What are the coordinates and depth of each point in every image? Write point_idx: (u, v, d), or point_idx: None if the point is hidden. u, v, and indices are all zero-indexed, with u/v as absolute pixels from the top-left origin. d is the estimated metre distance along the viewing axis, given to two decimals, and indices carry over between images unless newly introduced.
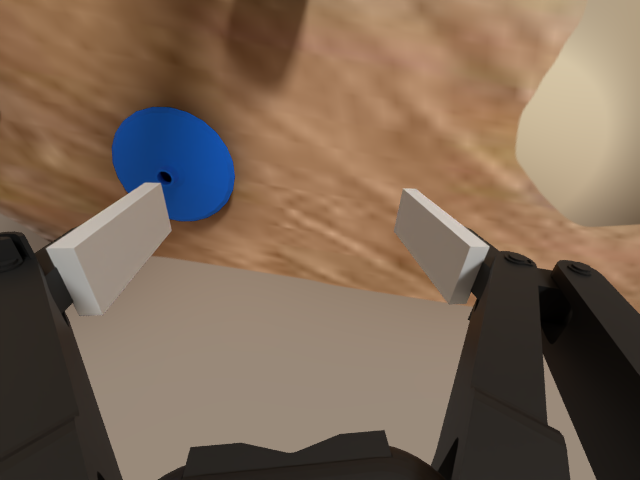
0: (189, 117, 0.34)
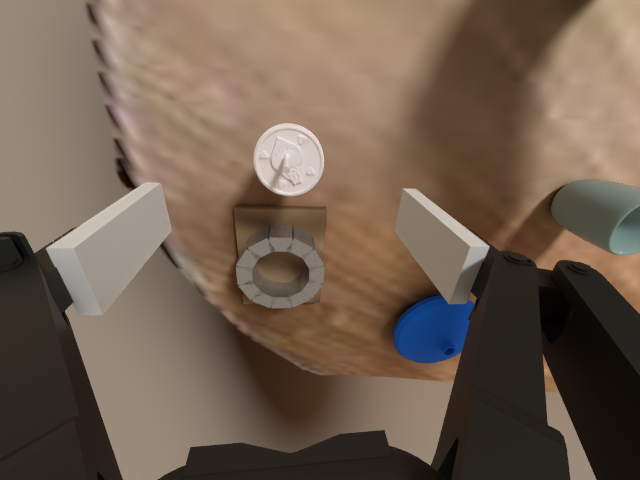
0: (467, 303, 0.44)
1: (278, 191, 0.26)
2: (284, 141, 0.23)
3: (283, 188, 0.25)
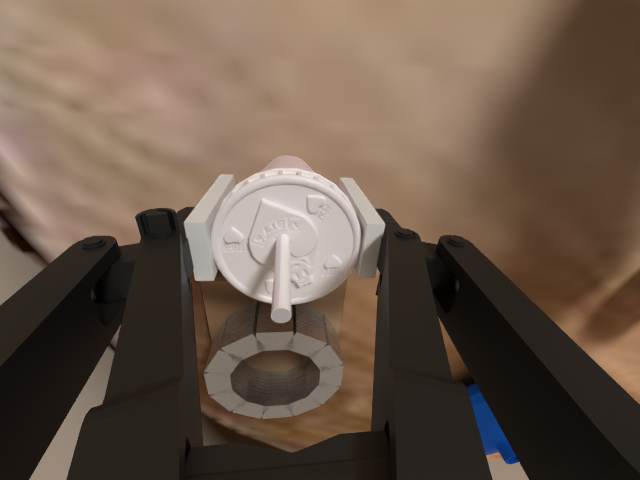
0: None
1: (267, 297, 0.13)
2: (277, 209, 0.10)
3: None
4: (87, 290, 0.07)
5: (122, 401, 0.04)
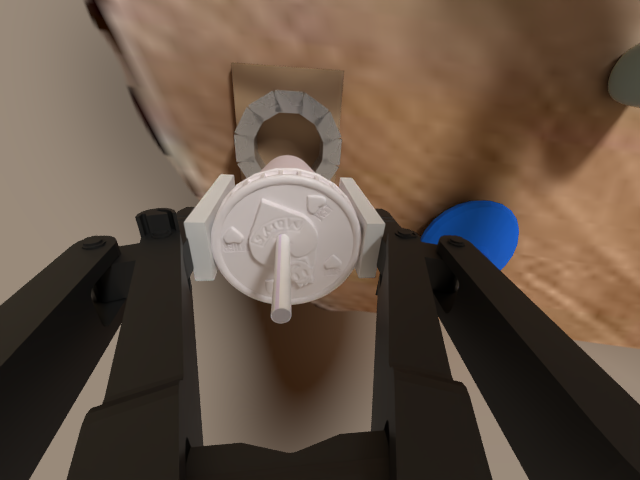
0: (504, 208, 0.38)
1: (266, 297, 0.13)
2: (277, 209, 0.10)
3: None
4: (87, 290, 0.07)
5: (122, 401, 0.04)
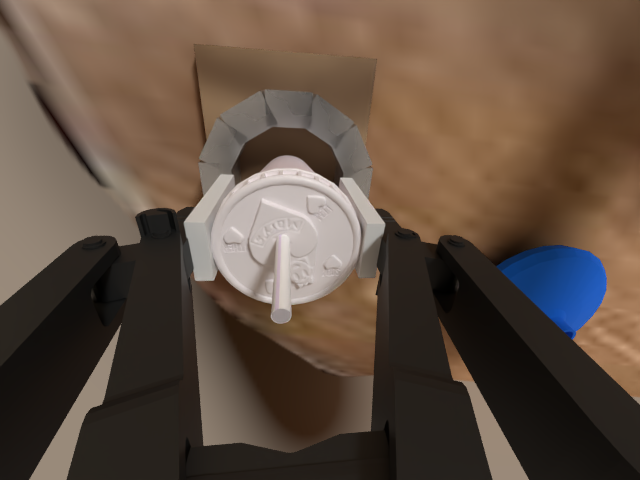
0: (593, 258, 0.27)
1: (266, 297, 0.13)
2: (277, 209, 0.10)
3: None
4: (87, 290, 0.07)
5: (122, 401, 0.04)
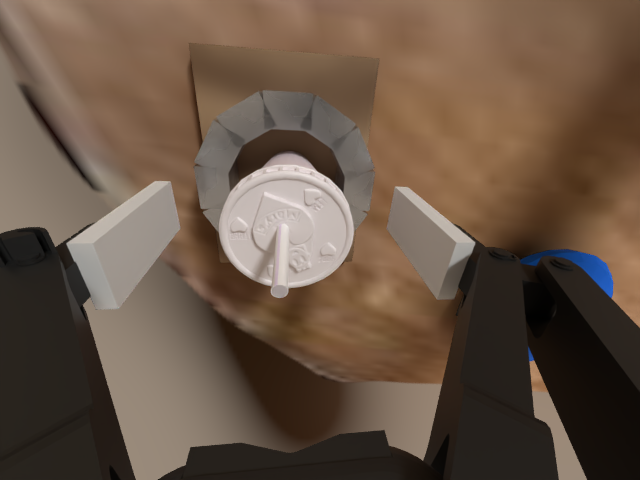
0: (599, 262, 0.26)
1: (269, 281, 0.14)
2: (278, 201, 0.12)
3: None
4: None
5: (13, 454, 0.03)
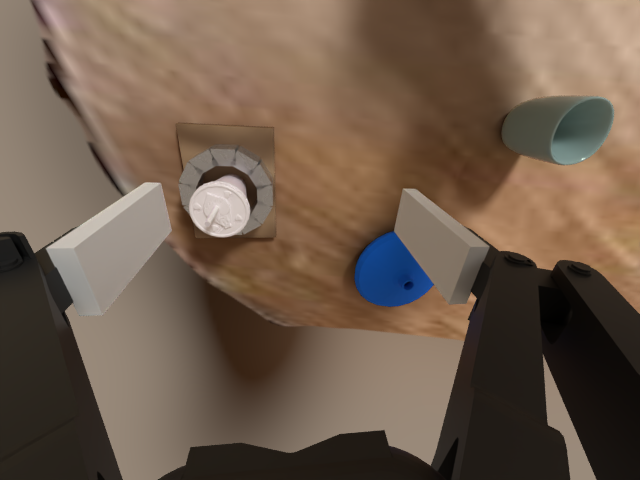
0: None
1: (212, 233, 0.31)
2: (213, 196, 0.29)
3: (217, 231, 0.31)
4: None
5: None
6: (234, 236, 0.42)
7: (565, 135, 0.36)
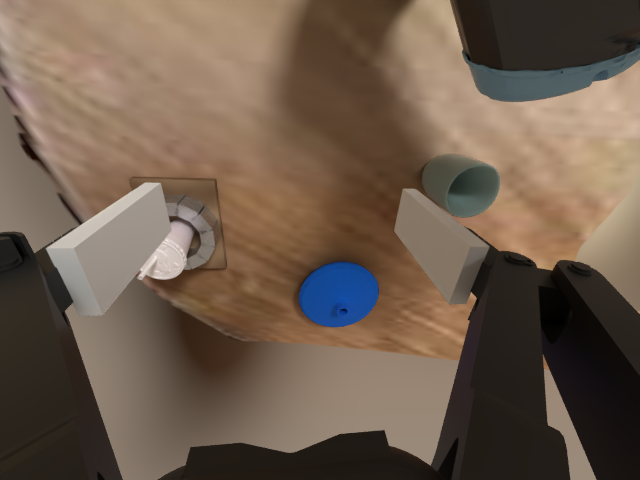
0: (359, 269, 0.50)
1: (155, 276, 0.37)
2: None
3: (158, 275, 0.37)
4: None
5: None
6: None
7: (469, 188, 0.41)
